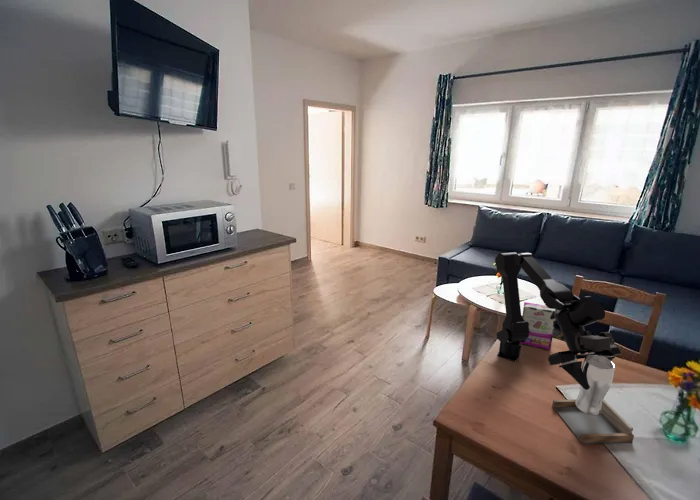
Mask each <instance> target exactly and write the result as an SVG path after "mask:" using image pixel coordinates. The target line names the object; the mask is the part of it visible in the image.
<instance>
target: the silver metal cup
mask: <svg viewBox="0 0 700 500" xmlns="http://www.w3.org/2000/svg"><path fill="white" fill-rule="evenodd" d="M615 368H616V365H615V363H614V362H613V360H612V361H610V360H609V359H607V358H605V357H602V356H599V355H587V356H585V358H583V361H582V366H581V369H582V371H583V374H584V376H585V379H586V382H587V384H588V387H589V390H585V389H584V388H583V387H582V386H581V385H580V384H579V394H578V395H577V398H576V399H575V400H576V401H575V404H576V406H577V408H578V409H579V410H581V411H582V412H584V413H586V414H589V415H593V416H598V415H600V414H601V413H602V401H603V399H604V400H605V397H606V395H607V393H608V392H609V390H610V388H611V386H612V383H613V380H614V376H615V375H614V374H615Z"/></svg>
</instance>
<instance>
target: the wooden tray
mask: <svg viewBox="0 0 700 500" xmlns="http://www.w3.org/2000/svg"><path fill="white" fill-rule="evenodd" d="M575 401H576V399H553V400H552V405H551V407H552V408H553V410H554V412H555V413H557V414H558V416H559V417H560V419H561V420H562V421H563V422H564V424H565V425H566V426H567V427H568V428H569V430H570V431H571V432H572V434H573V435H574V436H575V437H576V439H577V440H579V442H580V444H582V445H585V444H586V445H587V444H589V445H590V444H594V445H595V444H631V443H632V444H633V440H634V439H635V438H634V437H635V435H634V433H633V430H634V427H633V426H631V424H629V422H627V421H626V420H625V418H623V416H622V415H620V414H619V413H618V411H616V409H614V408H613V407H612V406H611V405H610V404H609V403H608V402H607V401H606V400H605V398H604V399H603V401H602V413H601V414H600V415H598V416H593V415H589V414H586V413H584V412H582V411H581V410H579V409H578V408H577V406H576V404H575Z"/></svg>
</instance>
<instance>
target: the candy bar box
mask: <svg viewBox="0 0 700 500" xmlns="http://www.w3.org/2000/svg"><path fill="white" fill-rule="evenodd" d="M522 308H523V309H522V314H521V316H522V318H523V319H524V320H525V321H527V322H528V323H529V331H530V333H529V337H528V338H527V339H526V341H525V342H520V345H525V346H529V347H534V348H538V349H543V350H548V351H551V350H552V349H551V348H552V342H553V336H554V330H555V326H556V325H555V324H556V319H552V320H551V319H550V316H551V315H552V312H553V311H555V310H557V309H550V308H548V307H547V306H546V305H545V304H544V305H543V304H538V303H531V302H526V301H525V302H524V303H523V307H522Z"/></svg>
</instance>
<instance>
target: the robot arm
mask: <svg viewBox="0 0 700 500" xmlns="http://www.w3.org/2000/svg"><path fill="white" fill-rule="evenodd" d="M494 262H495V267H496V271H497V272H498V274H500V276H501V278H502V285H503V294H504V295H503V297H504V298H503V299H504V307H505V318H504V320H503V322H502V328H501V330H499V331H497V332H496V339H497V340H498V341H499V348H498V349H499V350H498V352H497V355H496V356H498V357H501V358H503V359H507V360H510V361H512V362H517V360H518V359H519V358H520V357H521V352H522V344H520V342H525V341H526V339H527V338H528V337H529V333H530V331H529V323H528V322H527V321H525V320H524V319H523V318H522V310H521V298H520V291H519V280H518V275H520V272H521V270H523V271H524V273H525V274H526V275H527V277H528V278H530V280H531V281H532V282H533V284H534V285H535V286H536V287H537V289H538V290H539V297H540V298H541V299H540V300H542V302H543V303H544V305H545V306H547V307H548V308H550V309H556V310H555V311H553V312H552V315H551V316H550V319H551V320H552V319H555V321H556V322H557V325H558V327H559V329H560V332H561V335H562V336H560V340H561V341H565V343H566V346H567V347H568V350H563V351H558V352H554V353H551V354H548V358H547V360H548V363H549V365H550V366H557V365H558V367H559V369H560V368H562V369H563V371H565V372H566V373H567V374H569V376H571V377H572V378H573V379H574V381H576V382H577V383H578V384H579V386H580V385H581V386H582V387H583V388H584V389H585V390H589V387H588V384H587V382H586V379H585V376H584V374H583V371H582V369H581V368H582V365H583V361H582V359H585V356H587V355H599V356H602V357H605V358H607V359H609V360H610V361H612V362H613V360H614V359H615V358H616V356H618V355H622V352H621V350H620V348H619V346H617V345H616V344H615V338H614V337H613V335H612V333H611V332H609V331H605V332H603V331H602V332H599V335H593V334H592V332H591V331H590V330H589V329H588V330H585V326H588V325H591V324H594V323H596V322H599V321H602V320H603V319H605V316H606V310H605V308H604V306H602V305H601V303H599V302H597V301H596V300H594V299H593V298H592V296H590V295H588V296H587V295H586V296H583V297H581V298H580V297H578V295H576V294H574V293H573V291H572V290H571V289H570V288H568V287H567V286H566V285H565V284H562V283H561V282H558V281H556V280H554V279H553V278H552V277H551V276H550V274H549V273H548V272H547V271H546V270H545V269H544V268H543V267H542V266H541V264H539V263H538V261H537V260H536V259H535V258H534V255H533V254H532V253H531V252H518V253H517V252H516V251H513V252H499V253H498V254H497V255H496V257H495V258H494ZM578 360H579V361H578Z"/></svg>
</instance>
